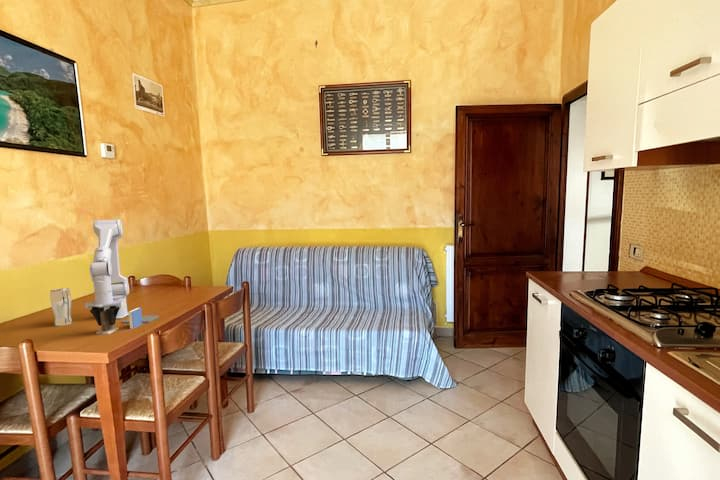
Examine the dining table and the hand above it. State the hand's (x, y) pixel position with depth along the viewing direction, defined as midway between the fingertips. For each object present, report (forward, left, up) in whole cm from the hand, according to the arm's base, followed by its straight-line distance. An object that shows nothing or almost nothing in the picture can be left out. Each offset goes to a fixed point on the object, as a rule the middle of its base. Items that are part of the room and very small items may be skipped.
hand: (106, 324), depth 151 cm
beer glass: (-27, +11, -3) cm, 29 cm away
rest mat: (+5, +14, -3) cm, 15 cm away
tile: (+8, +6, -3) cm, 10 cm away
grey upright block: (0, 0, -3) cm, 3 cm away
